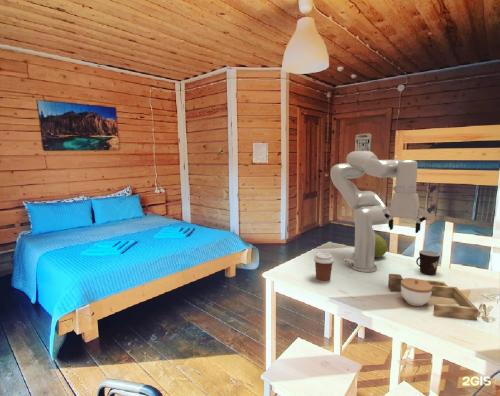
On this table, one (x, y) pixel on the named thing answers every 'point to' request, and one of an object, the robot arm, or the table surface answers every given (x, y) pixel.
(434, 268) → the coffee mug
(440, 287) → the holder
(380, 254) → the fruit
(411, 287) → the lidded jar
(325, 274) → the coffee cup
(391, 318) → the table surface
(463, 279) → the table surface
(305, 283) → the table surface
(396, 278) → the walnut block
